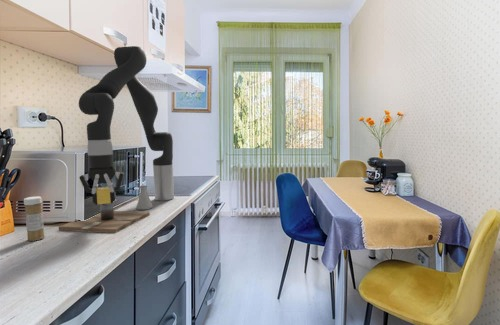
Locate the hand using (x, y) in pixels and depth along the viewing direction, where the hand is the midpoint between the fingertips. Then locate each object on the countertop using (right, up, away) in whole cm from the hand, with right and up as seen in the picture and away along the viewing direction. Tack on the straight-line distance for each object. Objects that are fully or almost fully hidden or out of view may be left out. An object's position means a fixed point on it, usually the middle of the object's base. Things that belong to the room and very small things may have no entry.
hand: (104, 203), depth 104 cm
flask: (+3, -7, +30) cm, 31 cm away
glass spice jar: (-4, -7, +10) cm, 13 cm away
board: (-4, -8, +10) cm, 14 cm away
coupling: (-2, +1, +5) cm, 6 cm away
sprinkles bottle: (-18, -11, -7) cm, 22 cm away
